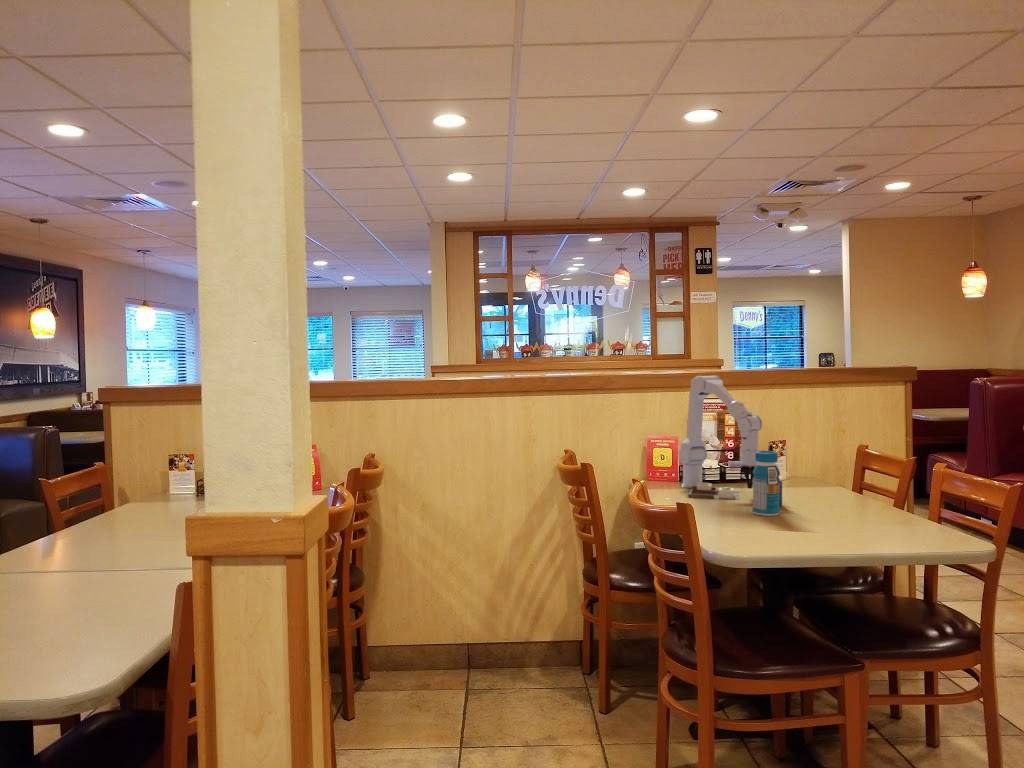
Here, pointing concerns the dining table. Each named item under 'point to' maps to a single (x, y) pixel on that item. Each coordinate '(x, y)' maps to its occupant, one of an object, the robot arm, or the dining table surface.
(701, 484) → the twin pot
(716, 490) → the rack
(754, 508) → the beverage bottle
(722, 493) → the pot
